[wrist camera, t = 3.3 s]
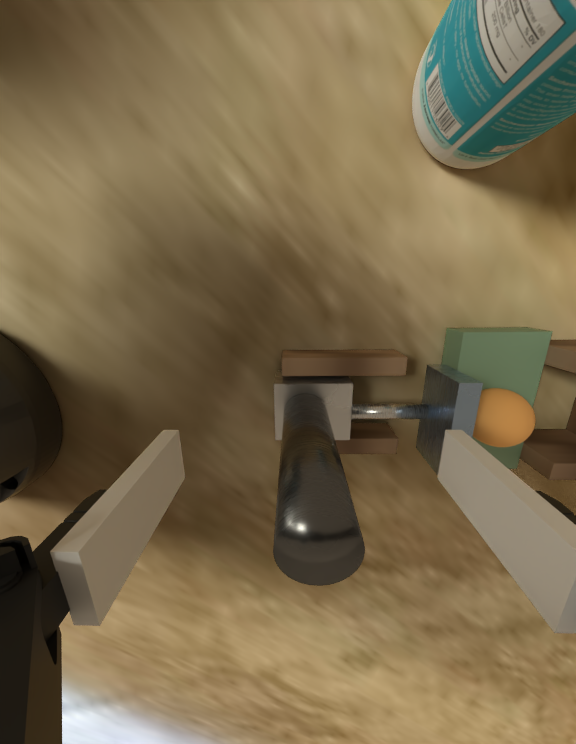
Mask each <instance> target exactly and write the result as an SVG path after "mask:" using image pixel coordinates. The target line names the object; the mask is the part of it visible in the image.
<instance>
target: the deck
mask: <svg viewBox="0 0 576 744" xmlns="http://www.w3.org/2000/svg"><path fill="white" fill-rule="evenodd" d="M551 335H552V331H546V330H540V329H534V328H528V327H513V328H447V331H446V337H445V344H444V351H443V357H442V364H441V365H448V366H450V367H452V368H454V369H456V370H458V371H460V372H462V373H464V374H466V375H468V376H470V377H472V378H474V379H476V380H478V381H480V382H482V383H483V386H482V390H484V389H489V388H501V389H507V390H510V391H513V392H515V393H517V394H519V395H520V396H522V397H523V398H524V399H525V400H526V401H527V402H528V403H529V404H530V405H531V407H532V408H533V405H534V401H535V397H536V393H537V389H538V385H539V382H540V378H541V374H542V370H543V366H544V362H545V359H546V355H547V351H548V347H549V343H550V339H551ZM472 439H473V440H475V441H476V442H477V443H478V444H479V445H481V446H482V447H483V448H484V449H485V450H486V451H488V452H489V453H490V454H491V455H492V456H494V457H495V458H496V459H497V460H498V461H500V462H501V463H502V464H503V465H504V466H506V467H507V468H508V469H517V466H518V462H519V458H520V455H521V451H522V447H523V443H524V441H523V442H522V443H520V444H517V445H514V446H510V447H494V446H490V445H487V444H484V443H482V442H480V441H479V440H477V439H476V438H474V437H473V436H472Z"/></svg>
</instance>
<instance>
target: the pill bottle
mask: <svg viewBox="0 0 576 744" xmlns="http://www.w3.org/2000/svg"><path fill="white" fill-rule="evenodd" d="M412 112H413V120H414V124H415V128H416V131H417V134H418V136H419V138H420V140H421V142H422V144H423V145H424V147H425V148H426V150H427V151H428V152H429V153H430V154H431V155H432V156H433V157H434V158H435V159H437V160H438V161H440V162H441V163H443V164H445V165H448V166H451V167H454V168H459V169H475V168H481V167H485V166H488V165H491V164H493V163H496V162H498V161H500V160H502V159H503V158H505V157H507V156H509V155H510V154H512V153H513V152H515V151H517V150H518V149H520V148H521V147H523V146H525V145H526V144H528V143H529V142H531V141H532V140H534V139H535V138H537V137H539V136H540V135H542V134H543V133H545V132H546V131H548V130H549V129H551V128H553V127H554V126H556V125H557V124H559V123H560V122H562V121H564V120H565V119H567V118H568V117H570V116H571V115H573V114H574V113H576V0H452V1H451V3H450V5H449V7H448V8H447V10H446V12H445V14H444V16H443V18H442V20H441V22H440V23H439V25H438V27H437V29H436V31H435V33H434V35H433V37H432V39H431V41H430V42H429V44H428V46H427V48H426V50H425V52H424V54H423V57H422V59H421V61H420V64H419V67H418V70H417V74H416V77H415V82H414V87H413V95H412Z"/></svg>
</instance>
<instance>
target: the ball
mask: <svg viewBox="0 0 576 744" xmlns="http://www.w3.org/2000/svg"><path fill="white" fill-rule="evenodd" d="M534 427H535V414H534V411H533V409H532V407H531V405H530V404H529V403H528V402H527V401H526V400H525V399H524V398H523V397H522V396H520V395H519V394H517V393H515V392H513V391H510V390H507V389H501V388H489V389H484V390H482V391H481V396H480V401H479V406H478V411H477V416H476V421H475V426H474V431H473V437H474V438H476V439H477V440H479V441H480V442H482V443H484V444H487V445H490V446H494V447H510V446H514V445H517V444H520V443H522V442H523V441H525V440H526V439H527V438H528V437H529V436H530V435H531V433H532V432H533V430H534Z"/></svg>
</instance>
